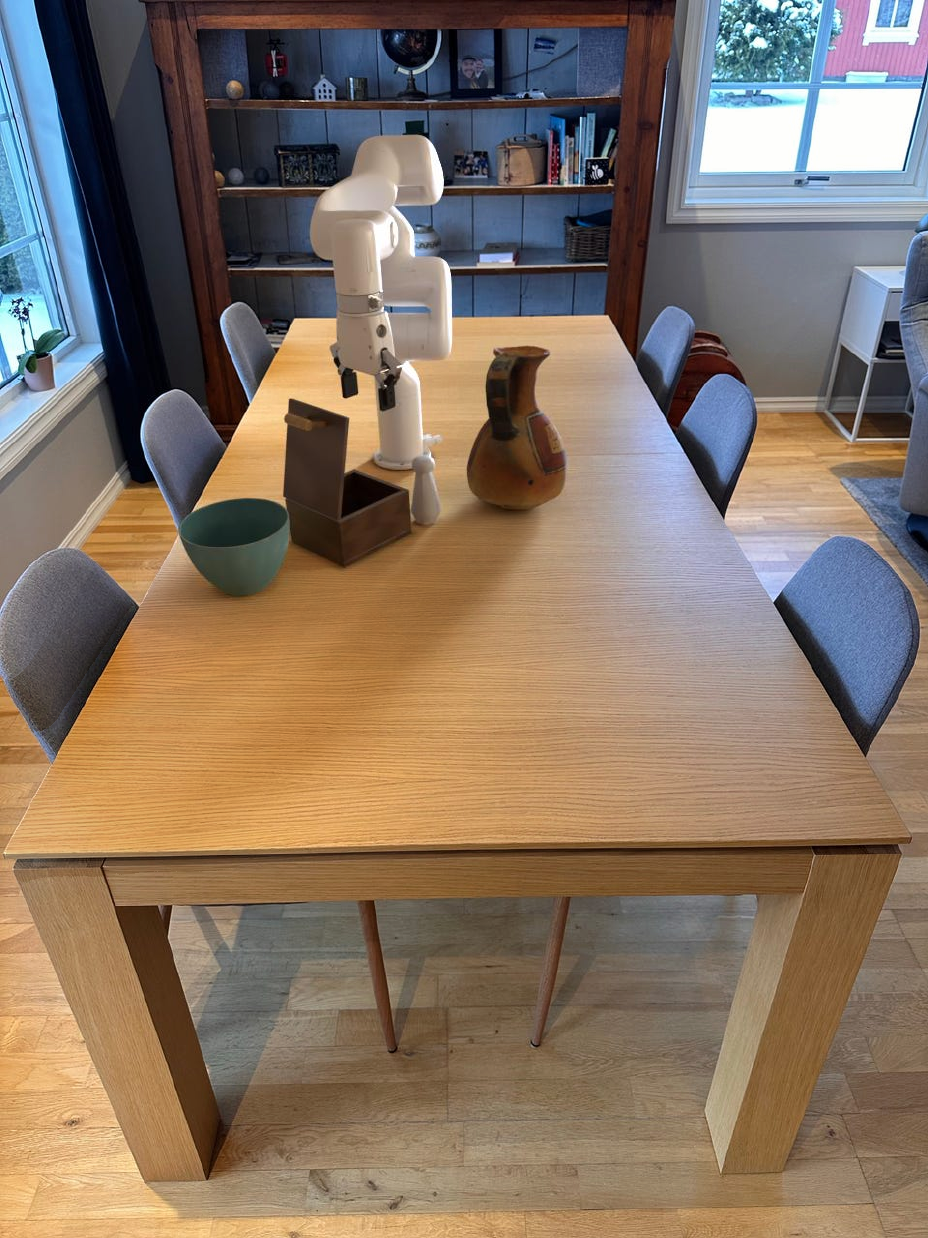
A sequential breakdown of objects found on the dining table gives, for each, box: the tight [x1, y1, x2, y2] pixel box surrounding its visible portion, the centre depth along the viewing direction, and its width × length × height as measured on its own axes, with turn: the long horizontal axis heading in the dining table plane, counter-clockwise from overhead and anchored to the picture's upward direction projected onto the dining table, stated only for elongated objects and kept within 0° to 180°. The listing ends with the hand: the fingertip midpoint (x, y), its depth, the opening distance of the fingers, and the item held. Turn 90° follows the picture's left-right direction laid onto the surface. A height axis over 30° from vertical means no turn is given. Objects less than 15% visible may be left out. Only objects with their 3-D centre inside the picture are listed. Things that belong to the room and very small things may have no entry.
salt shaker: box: [410, 456, 442, 526], centre depth 175 cm, size 6×6×13 cm
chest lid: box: [282, 398, 350, 521], centre depth 158 cm, size 18×15×5 cm
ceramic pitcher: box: [466, 345, 568, 510], centre depth 178 cm, size 20×20×30 cm
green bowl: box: [177, 497, 290, 597], centre depth 157 cm, size 18×18×12 cm
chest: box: [284, 468, 413, 568], centre depth 171 cm, size 17×15×9 cm
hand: (368, 402), depth 160 cm, fingers open, 9 cm apart
